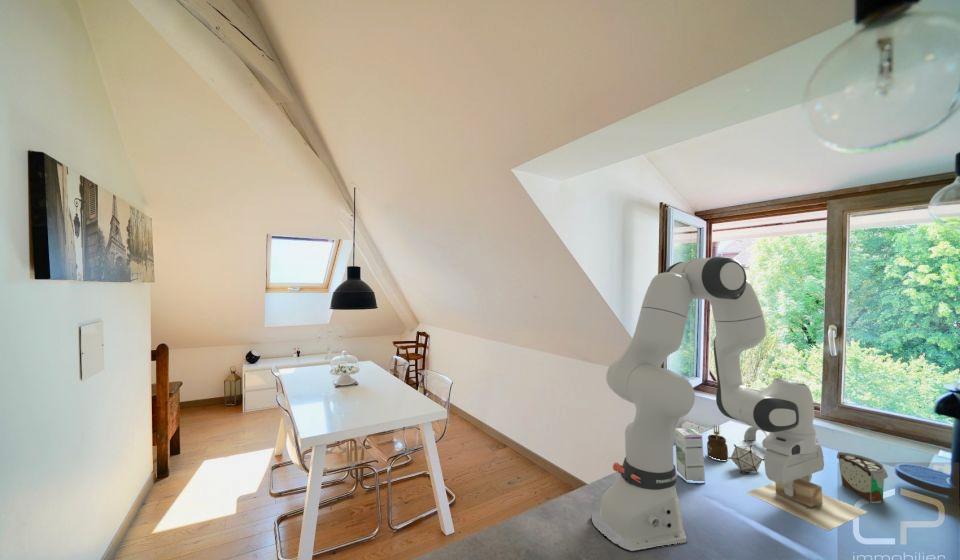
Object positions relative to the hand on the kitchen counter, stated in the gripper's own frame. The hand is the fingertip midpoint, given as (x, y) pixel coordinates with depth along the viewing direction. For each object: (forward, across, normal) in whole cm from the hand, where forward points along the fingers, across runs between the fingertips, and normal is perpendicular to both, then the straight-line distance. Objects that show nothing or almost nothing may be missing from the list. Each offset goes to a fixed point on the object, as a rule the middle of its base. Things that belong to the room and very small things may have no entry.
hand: (797, 492), depth 97 cm
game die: (+3, -6, -16) cm, 18 cm away
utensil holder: (+3, -7, -26) cm, 28 cm away
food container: (+3, -20, +7) cm, 21 cm away
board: (+3, 0, +1) cm, 3 cm away
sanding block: (+2, 0, 0) cm, 2 cm away
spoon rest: (+4, -30, -21) cm, 37 cm away
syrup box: (+3, +14, -21) cm, 25 cm away
